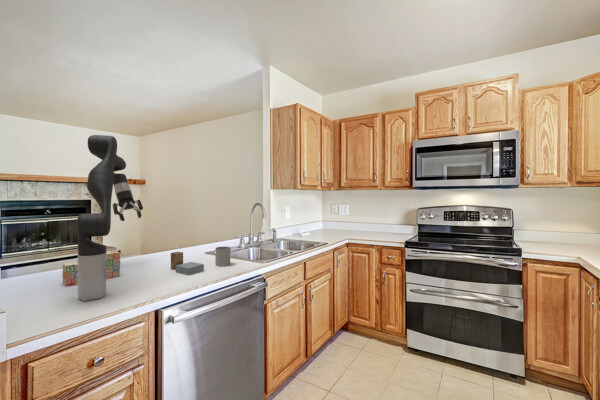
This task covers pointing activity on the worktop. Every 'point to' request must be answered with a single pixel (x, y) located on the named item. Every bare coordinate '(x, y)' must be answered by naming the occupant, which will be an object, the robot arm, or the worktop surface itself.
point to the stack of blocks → (111, 269)
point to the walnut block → (176, 259)
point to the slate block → (189, 268)
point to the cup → (222, 256)
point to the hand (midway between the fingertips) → (131, 219)
